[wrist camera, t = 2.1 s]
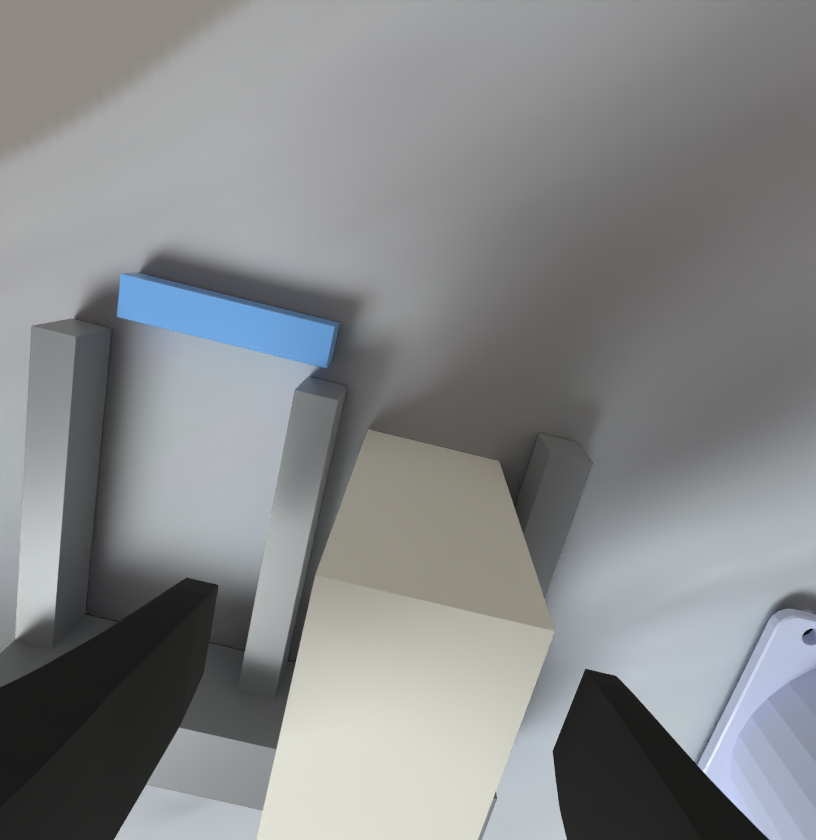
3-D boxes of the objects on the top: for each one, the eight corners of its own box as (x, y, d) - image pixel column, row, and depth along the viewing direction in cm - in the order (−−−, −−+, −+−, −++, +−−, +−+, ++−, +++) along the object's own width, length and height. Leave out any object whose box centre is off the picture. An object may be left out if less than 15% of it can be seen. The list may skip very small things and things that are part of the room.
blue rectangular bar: (339, 322, 14) (334, 326, 13) (332, 362, 14) (325, 368, 13) (138, 272, 14) (120, 273, 13) (134, 313, 14) (116, 316, 13)
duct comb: (576, 441, 15) (612, 488, 12) (467, 758, 17) (474, 857, 15) (72, 318, 14) (-19, 334, 11) (47, 662, 17) (-31, 745, 14)
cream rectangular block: (499, 460, 15) (555, 631, 8) (440, 649, 17) (447, 921, 10) (368, 429, 15) (314, 575, 8) (323, 622, 16) (247, 877, 10)
